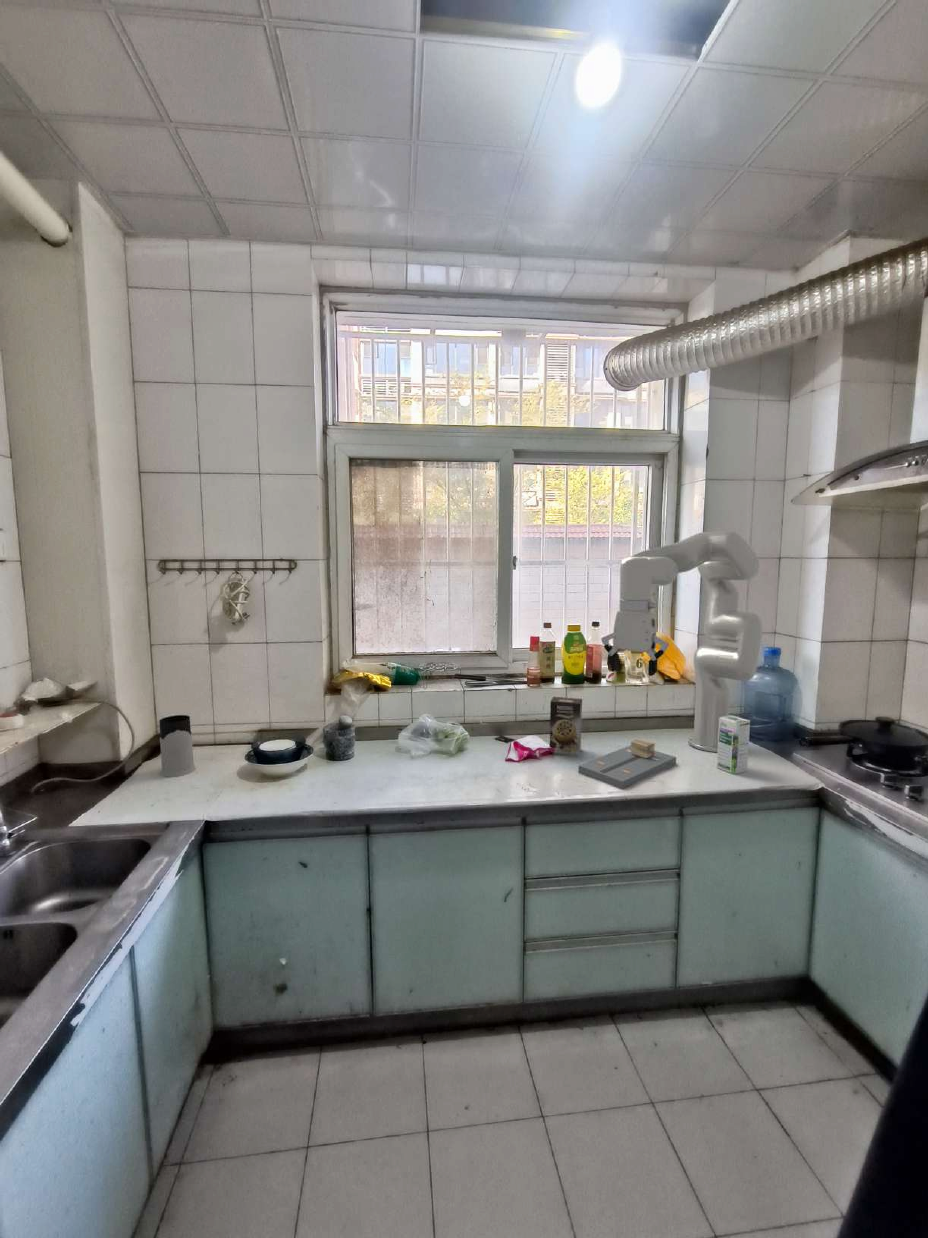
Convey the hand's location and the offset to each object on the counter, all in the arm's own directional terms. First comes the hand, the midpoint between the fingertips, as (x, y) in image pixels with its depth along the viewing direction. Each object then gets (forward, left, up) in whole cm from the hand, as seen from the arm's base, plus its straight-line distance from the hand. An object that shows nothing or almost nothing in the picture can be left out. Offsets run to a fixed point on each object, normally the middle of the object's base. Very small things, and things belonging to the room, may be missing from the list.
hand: (633, 672), depth 139 cm
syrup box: (-28, +14, -29) cm, 43 cm away
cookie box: (-4, -25, -29) cm, 39 cm away
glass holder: (+90, -88, -29) cm, 129 cm away
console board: (-7, -5, -29) cm, 30 cm away
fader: (-14, -5, -27) cm, 30 cm away
